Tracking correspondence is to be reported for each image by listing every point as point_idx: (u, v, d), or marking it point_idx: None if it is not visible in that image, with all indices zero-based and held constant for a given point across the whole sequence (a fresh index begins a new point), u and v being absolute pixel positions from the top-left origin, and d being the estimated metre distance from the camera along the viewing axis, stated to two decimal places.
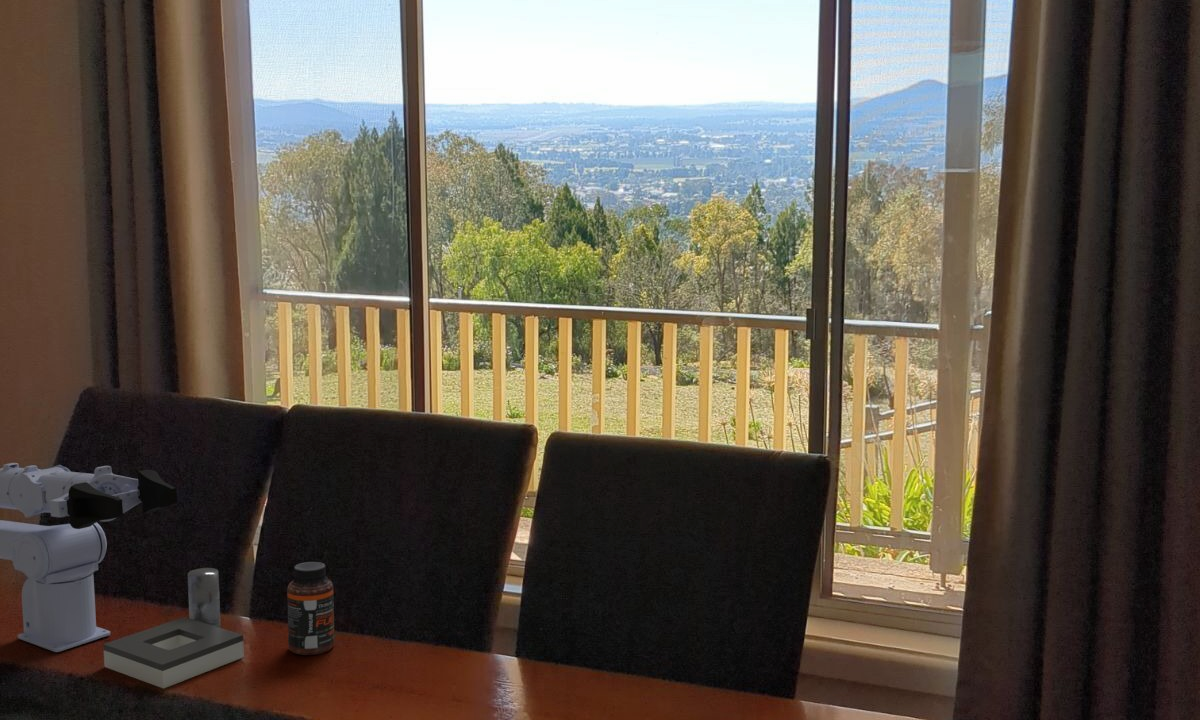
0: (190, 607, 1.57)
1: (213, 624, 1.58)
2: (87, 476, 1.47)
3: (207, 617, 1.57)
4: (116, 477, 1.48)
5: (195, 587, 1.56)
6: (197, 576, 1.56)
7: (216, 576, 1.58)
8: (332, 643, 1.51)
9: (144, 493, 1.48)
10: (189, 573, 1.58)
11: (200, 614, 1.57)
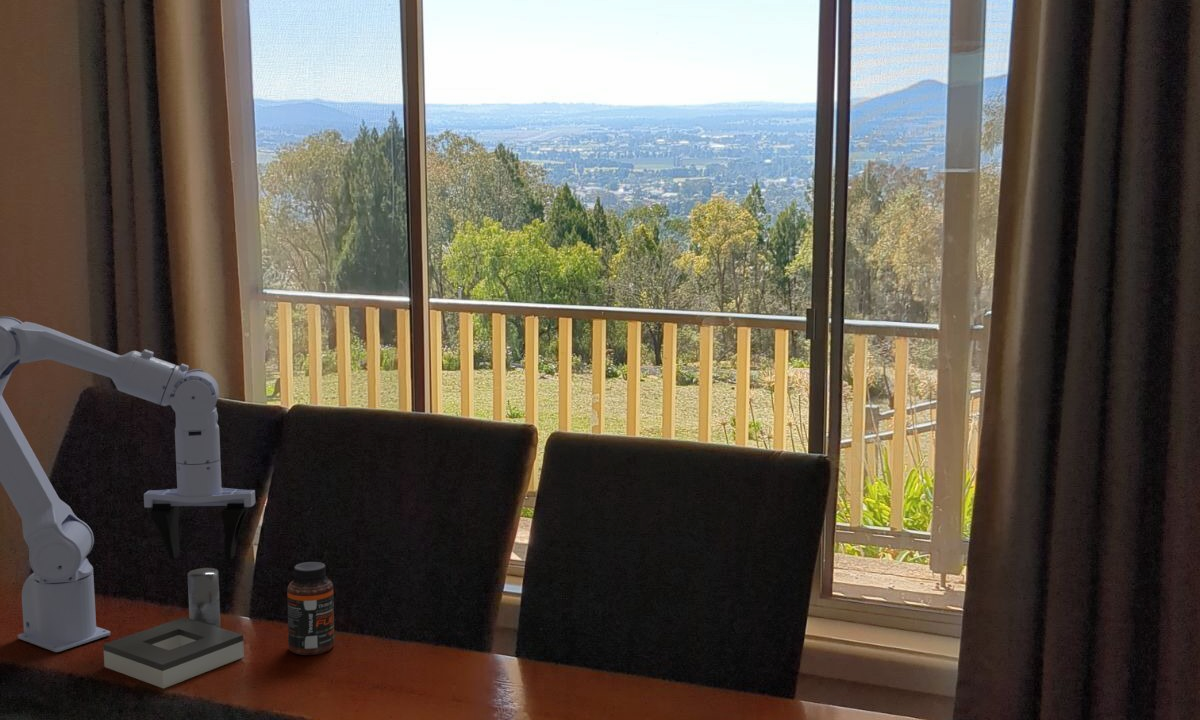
0: (190, 607, 1.57)
1: (213, 624, 1.58)
2: None
3: (207, 617, 1.57)
4: None
5: (195, 587, 1.56)
6: (197, 576, 1.56)
7: (216, 576, 1.58)
8: (332, 643, 1.51)
9: (173, 514, 1.57)
10: (189, 573, 1.58)
11: (200, 614, 1.57)
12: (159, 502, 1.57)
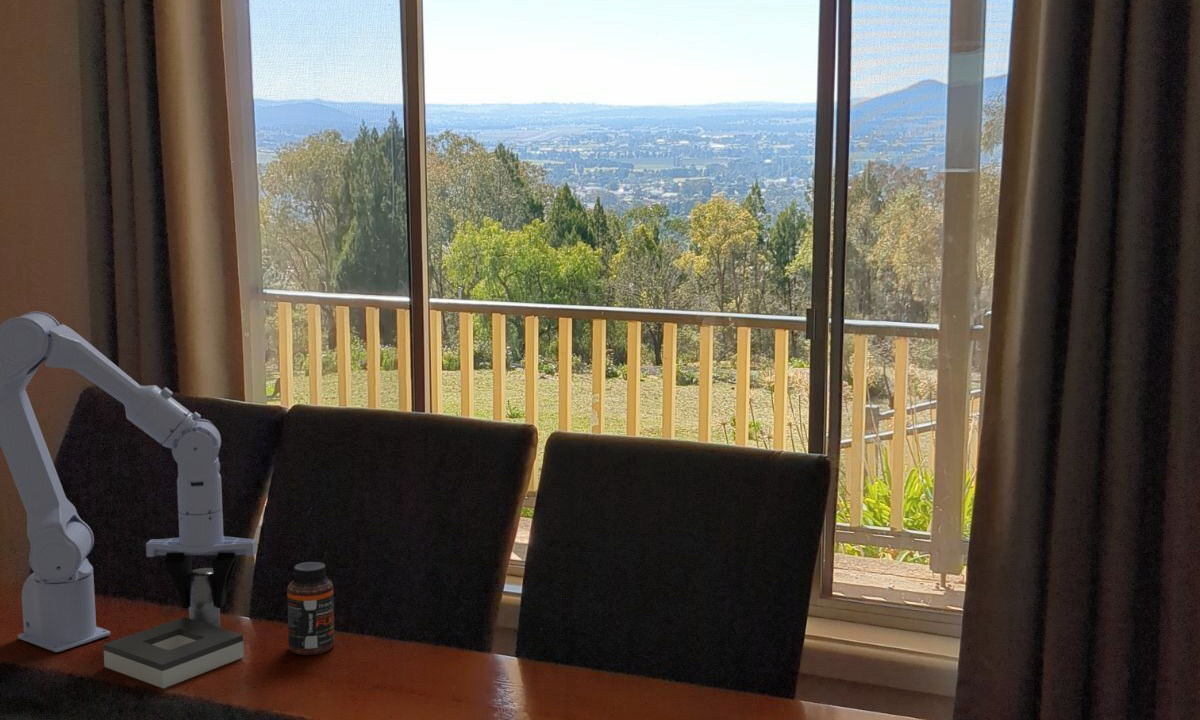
0: (190, 607, 1.57)
1: (213, 624, 1.58)
2: None
3: (207, 617, 1.57)
4: None
5: (195, 586, 1.56)
6: (197, 576, 1.56)
7: None
8: (332, 643, 1.51)
9: (186, 563, 1.58)
10: (189, 573, 1.58)
11: (200, 614, 1.57)
12: (161, 551, 1.57)
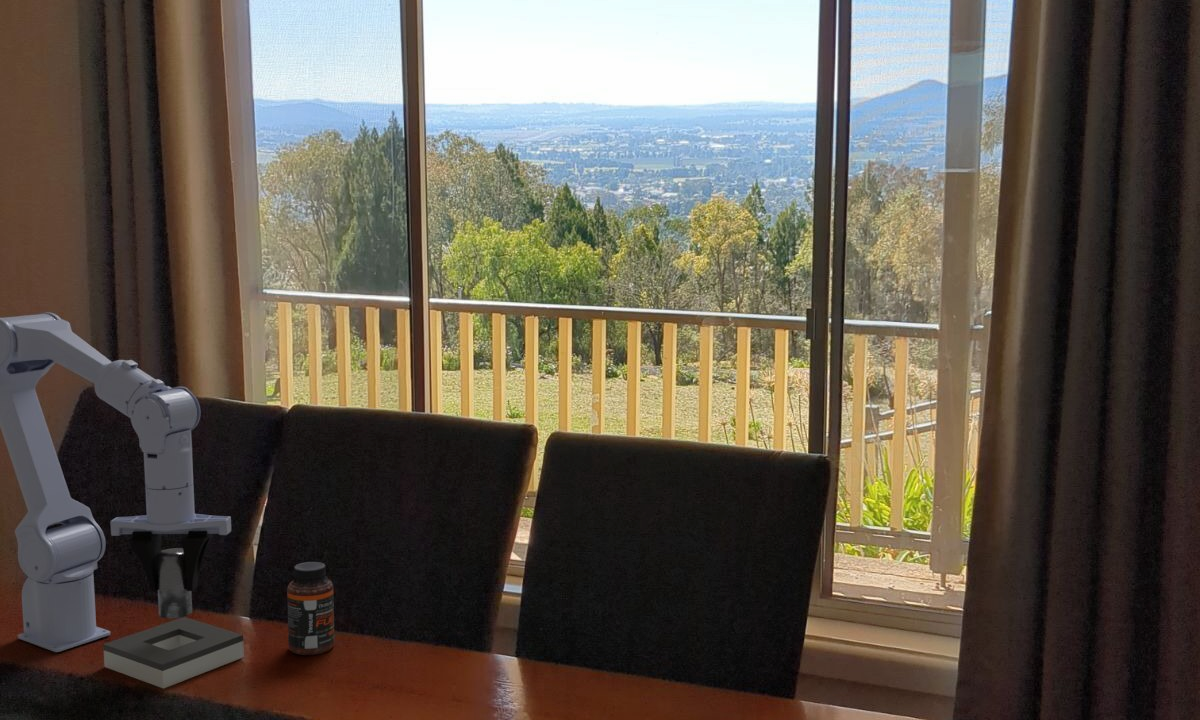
0: (159, 590, 1.45)
1: (184, 608, 1.46)
2: None
3: (177, 601, 1.45)
4: None
5: (164, 568, 1.44)
6: (166, 556, 1.44)
7: None
8: (332, 643, 1.51)
9: (154, 543, 1.46)
10: (158, 553, 1.46)
11: (169, 598, 1.45)
12: (127, 529, 1.45)
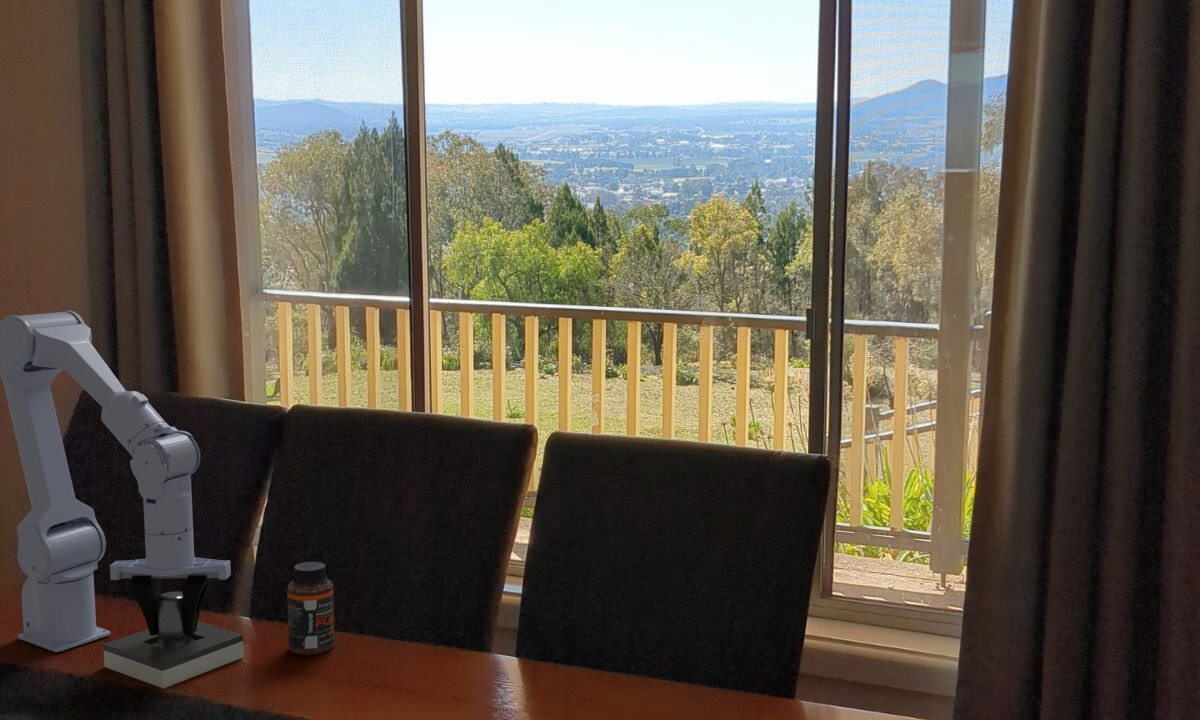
0: (158, 634, 1.45)
1: None
2: None
3: (176, 645, 1.45)
4: None
5: (163, 612, 1.44)
6: (166, 601, 1.44)
7: None
8: (332, 643, 1.51)
9: (154, 587, 1.46)
10: (157, 597, 1.45)
11: (168, 642, 1.45)
12: (126, 574, 1.45)
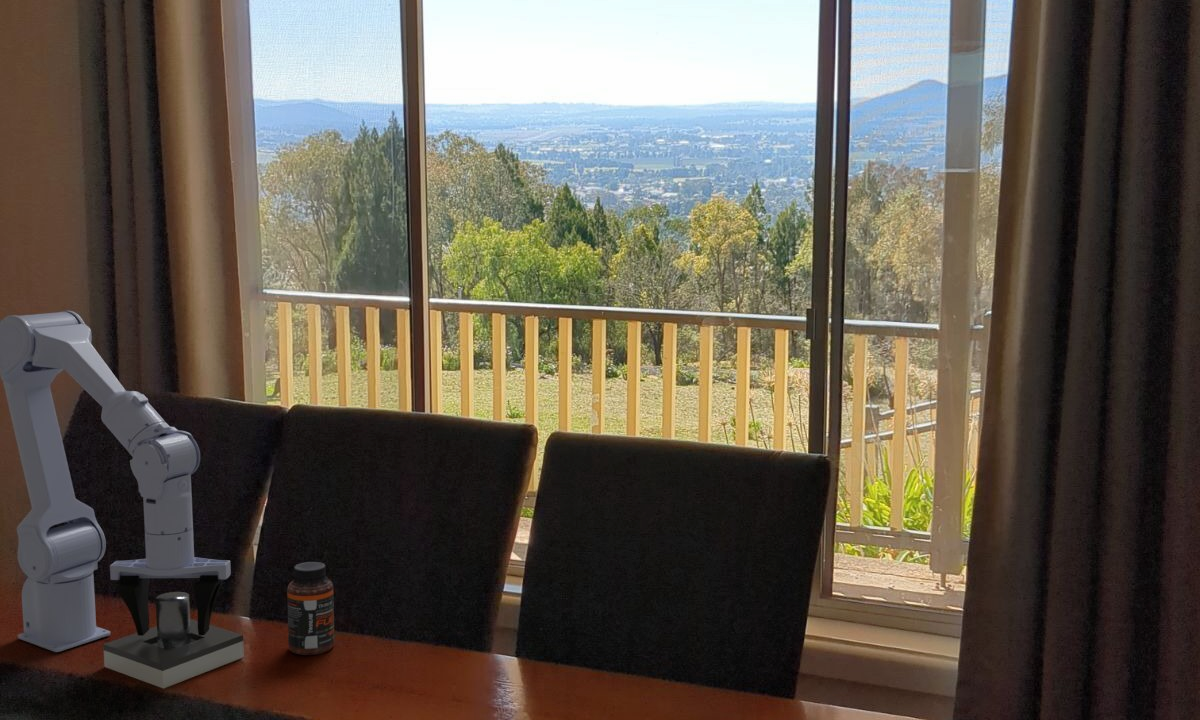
0: (158, 635, 1.45)
1: None
2: None
3: (176, 646, 1.45)
4: None
5: (163, 613, 1.44)
6: (166, 601, 1.44)
7: (186, 601, 1.46)
8: (332, 643, 1.51)
9: (142, 587, 1.46)
10: (157, 598, 1.45)
11: (168, 643, 1.45)
12: (126, 574, 1.45)
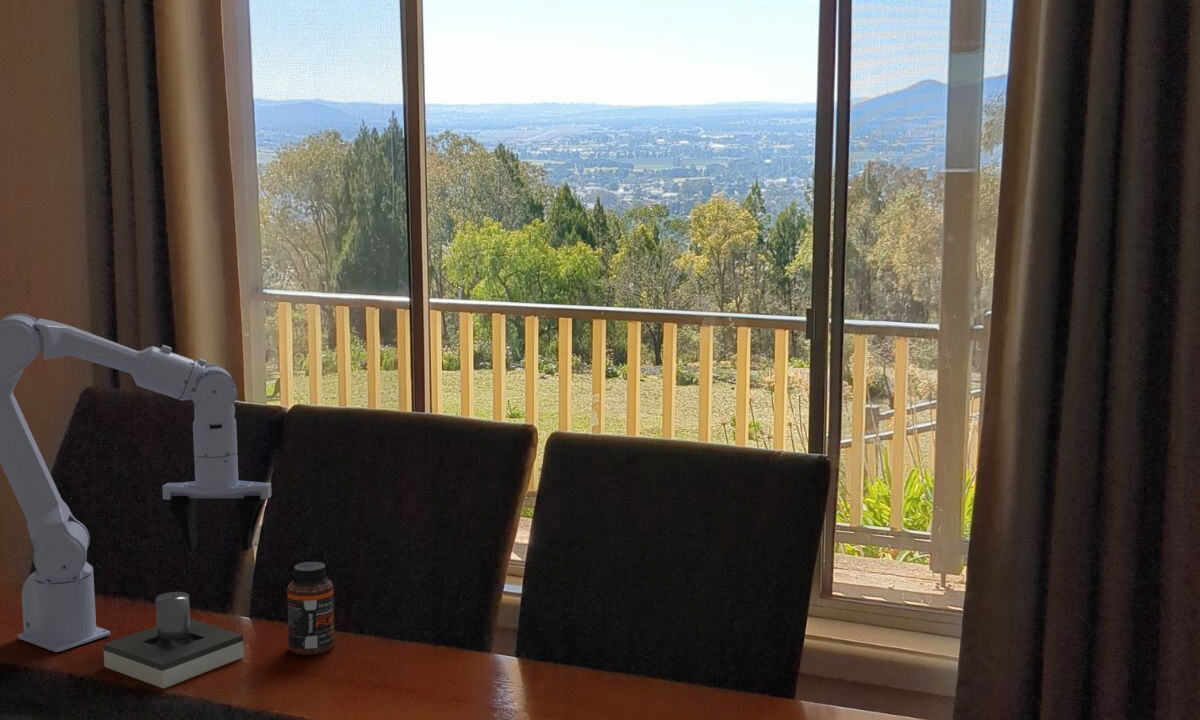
0: (158, 635, 1.45)
1: None
2: None
3: (176, 645, 1.45)
4: None
5: (163, 613, 1.44)
6: (166, 601, 1.44)
7: (186, 601, 1.46)
8: (332, 643, 1.51)
9: (191, 506, 1.60)
10: (157, 598, 1.45)
11: (168, 643, 1.45)
12: (177, 494, 1.60)
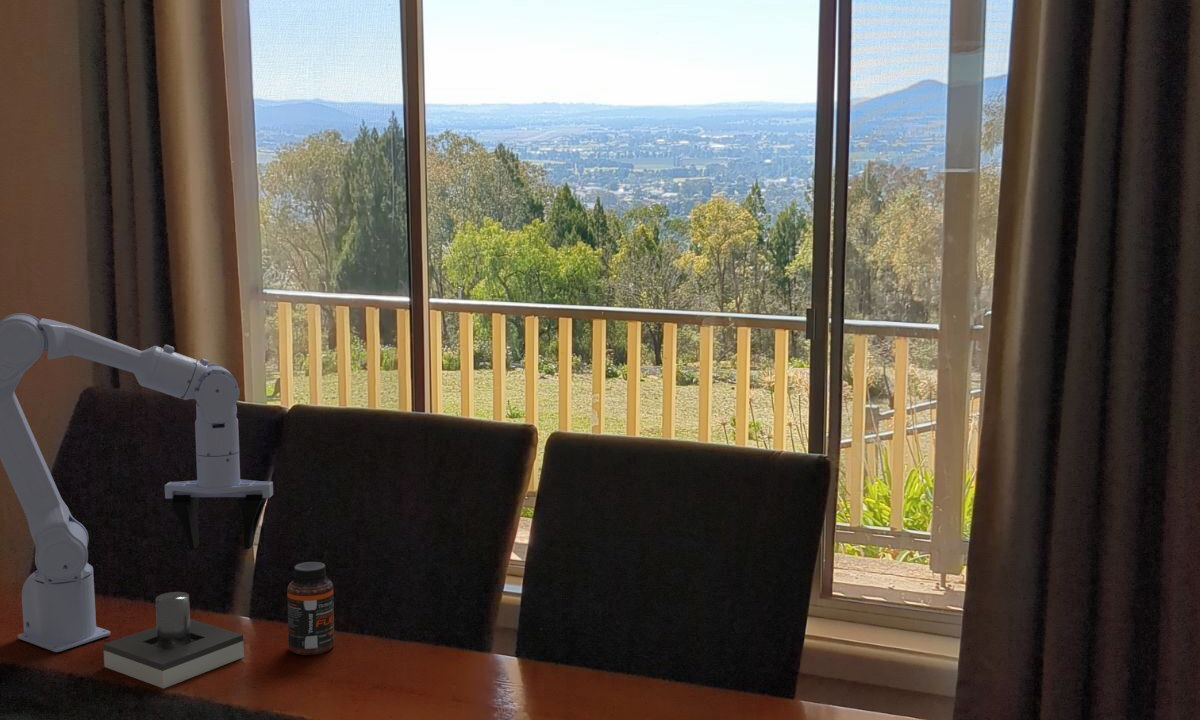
0: (158, 635, 1.45)
1: None
2: None
3: (176, 646, 1.45)
4: None
5: (163, 613, 1.44)
6: (166, 601, 1.44)
7: (186, 601, 1.46)
8: (332, 643, 1.51)
9: (193, 505, 1.61)
10: (157, 598, 1.45)
11: (168, 643, 1.45)
12: (179, 493, 1.60)
